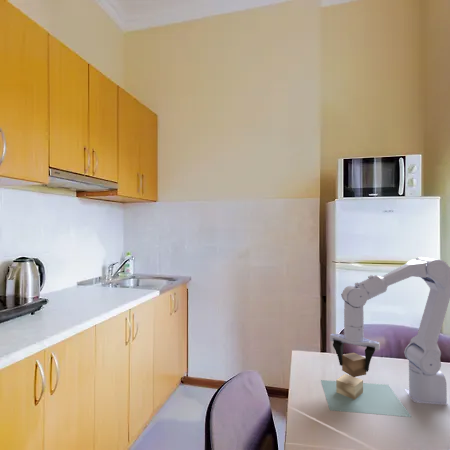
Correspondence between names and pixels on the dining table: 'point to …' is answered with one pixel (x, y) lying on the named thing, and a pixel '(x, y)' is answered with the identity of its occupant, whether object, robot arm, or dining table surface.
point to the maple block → (349, 386)
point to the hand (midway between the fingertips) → (354, 367)
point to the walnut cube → (353, 364)
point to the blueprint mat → (365, 400)
